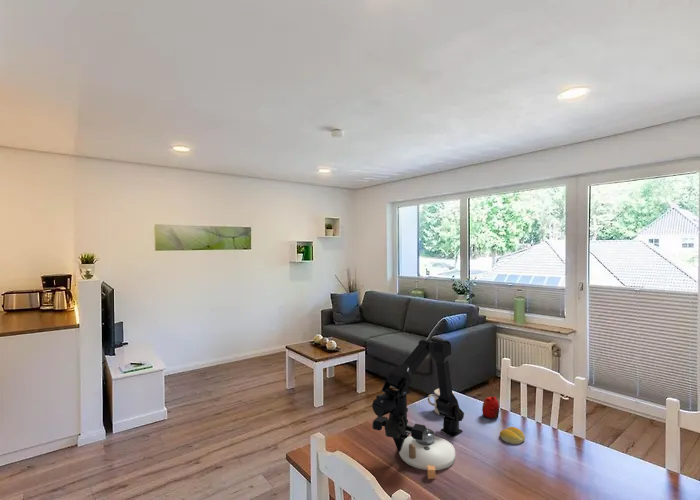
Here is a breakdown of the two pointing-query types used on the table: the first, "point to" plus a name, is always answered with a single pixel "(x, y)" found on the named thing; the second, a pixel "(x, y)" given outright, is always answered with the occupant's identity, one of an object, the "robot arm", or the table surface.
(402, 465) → the table surface
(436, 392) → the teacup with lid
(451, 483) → the table surface
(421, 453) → the turntable
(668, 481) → the table surface
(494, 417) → the red clay folk toy
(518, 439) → the bread roll
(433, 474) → the pointer block
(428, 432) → the cover
